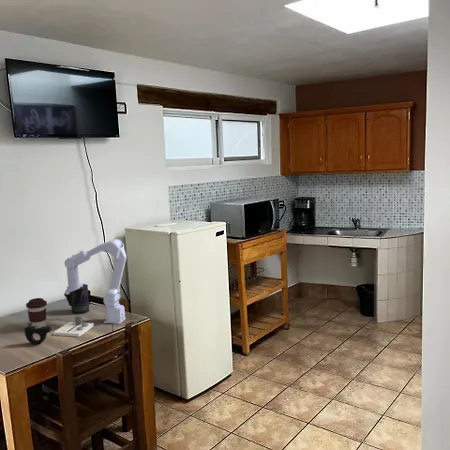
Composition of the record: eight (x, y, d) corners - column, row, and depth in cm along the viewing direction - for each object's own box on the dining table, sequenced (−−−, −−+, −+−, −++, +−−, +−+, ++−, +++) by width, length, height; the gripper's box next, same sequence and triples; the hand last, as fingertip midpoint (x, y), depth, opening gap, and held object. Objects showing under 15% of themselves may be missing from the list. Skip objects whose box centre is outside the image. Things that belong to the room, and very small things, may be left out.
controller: (27, 341, 221) (25, 321, 219) (53, 341, 221) (51, 321, 219) (24, 345, 216) (22, 325, 215) (50, 344, 216) (48, 324, 215)
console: (93, 325, 240) (93, 321, 240) (79, 336, 226) (78, 332, 225) (69, 324, 243) (69, 320, 243) (53, 335, 228) (53, 330, 228)
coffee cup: (42, 322, 247) (40, 295, 244) (52, 326, 240) (50, 299, 238) (24, 328, 239) (22, 300, 237) (34, 332, 233) (31, 303, 231)
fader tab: (82, 323, 240) (82, 316, 239) (80, 324, 238) (80, 317, 237) (77, 322, 240) (76, 316, 240) (75, 324, 238) (74, 317, 238)
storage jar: (70, 310, 266) (68, 285, 264) (88, 307, 270) (86, 283, 268) (72, 315, 257) (70, 289, 255) (90, 312, 261) (89, 287, 259)
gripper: (73, 275, 254) (75, 299, 255) (58, 282, 240) (61, 307, 241) (85, 275, 252) (87, 299, 254) (71, 282, 238) (73, 308, 240)
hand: (75, 303), depth 248 cm, fingers open, 7 cm apart
